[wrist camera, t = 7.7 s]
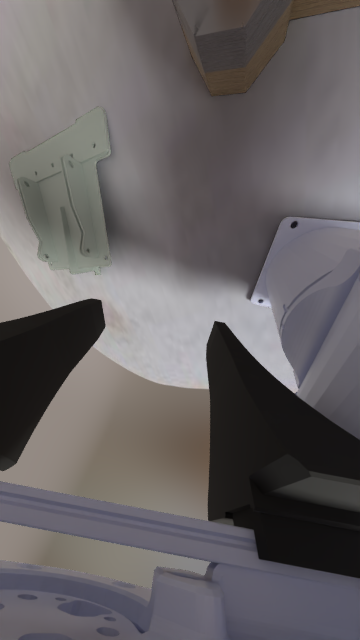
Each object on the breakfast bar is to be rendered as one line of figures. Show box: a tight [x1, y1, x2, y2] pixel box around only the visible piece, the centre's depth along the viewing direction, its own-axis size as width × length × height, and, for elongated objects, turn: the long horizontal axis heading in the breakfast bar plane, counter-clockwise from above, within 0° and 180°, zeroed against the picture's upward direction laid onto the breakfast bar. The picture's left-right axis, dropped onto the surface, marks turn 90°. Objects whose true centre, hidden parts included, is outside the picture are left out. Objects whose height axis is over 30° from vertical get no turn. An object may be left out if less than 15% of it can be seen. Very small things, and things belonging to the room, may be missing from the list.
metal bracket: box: [9, 107, 112, 275], centre depth 18 cm, size 14×6×15 cm
